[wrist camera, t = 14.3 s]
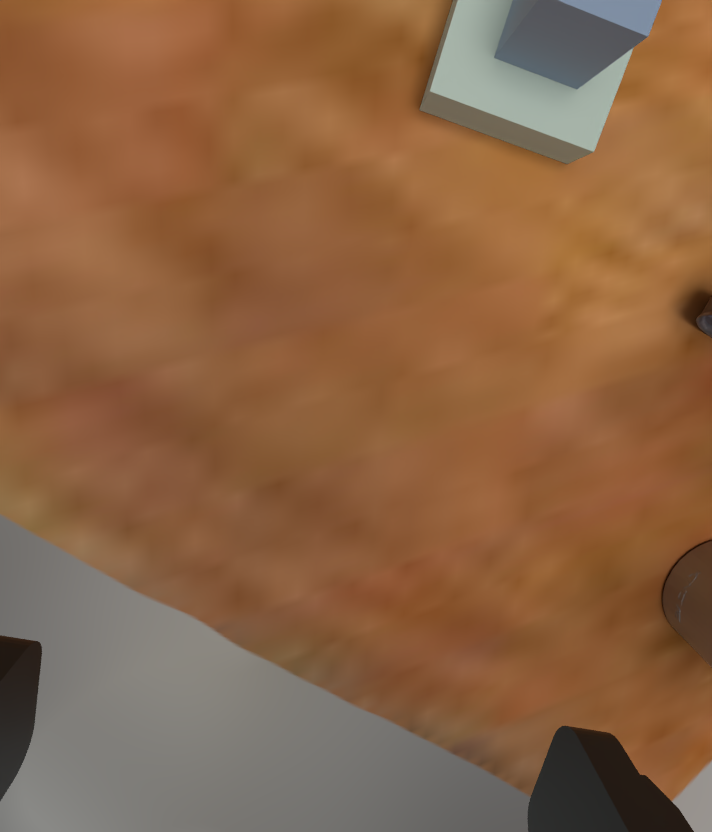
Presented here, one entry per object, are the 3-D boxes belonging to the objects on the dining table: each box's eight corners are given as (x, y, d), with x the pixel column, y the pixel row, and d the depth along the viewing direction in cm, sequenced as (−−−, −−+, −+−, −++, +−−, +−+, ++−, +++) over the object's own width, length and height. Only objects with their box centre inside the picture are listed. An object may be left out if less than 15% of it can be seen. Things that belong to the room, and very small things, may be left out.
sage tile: (628, -7, 33) (668, -44, 29) (564, 165, 35) (593, 152, 31) (473, -70, 32) (493, -117, 28) (418, 112, 34) (429, 91, 30)
